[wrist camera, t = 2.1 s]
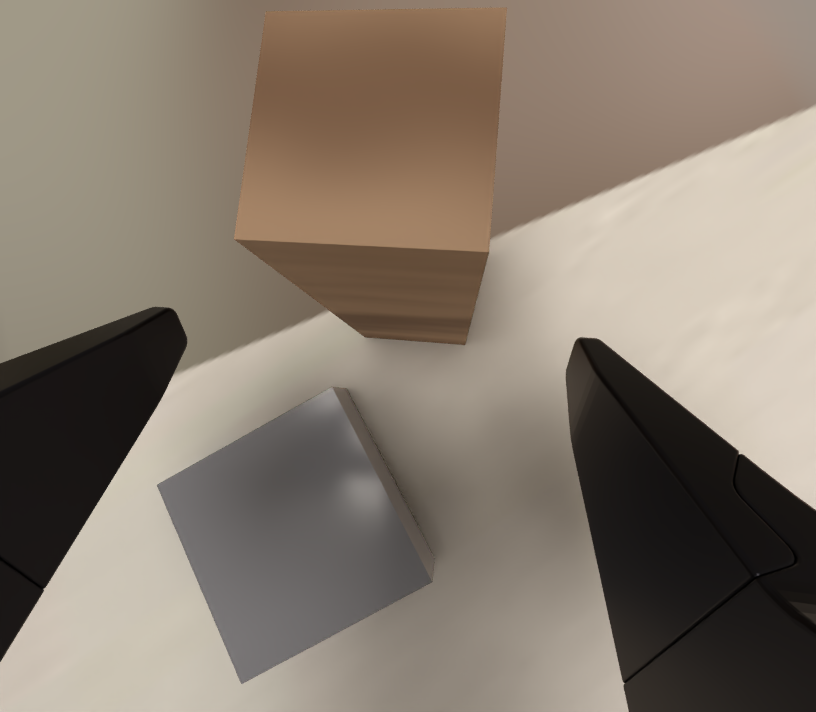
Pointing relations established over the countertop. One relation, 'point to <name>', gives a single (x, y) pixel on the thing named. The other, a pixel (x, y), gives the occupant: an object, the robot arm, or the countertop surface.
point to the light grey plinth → (296, 532)
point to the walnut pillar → (377, 163)
